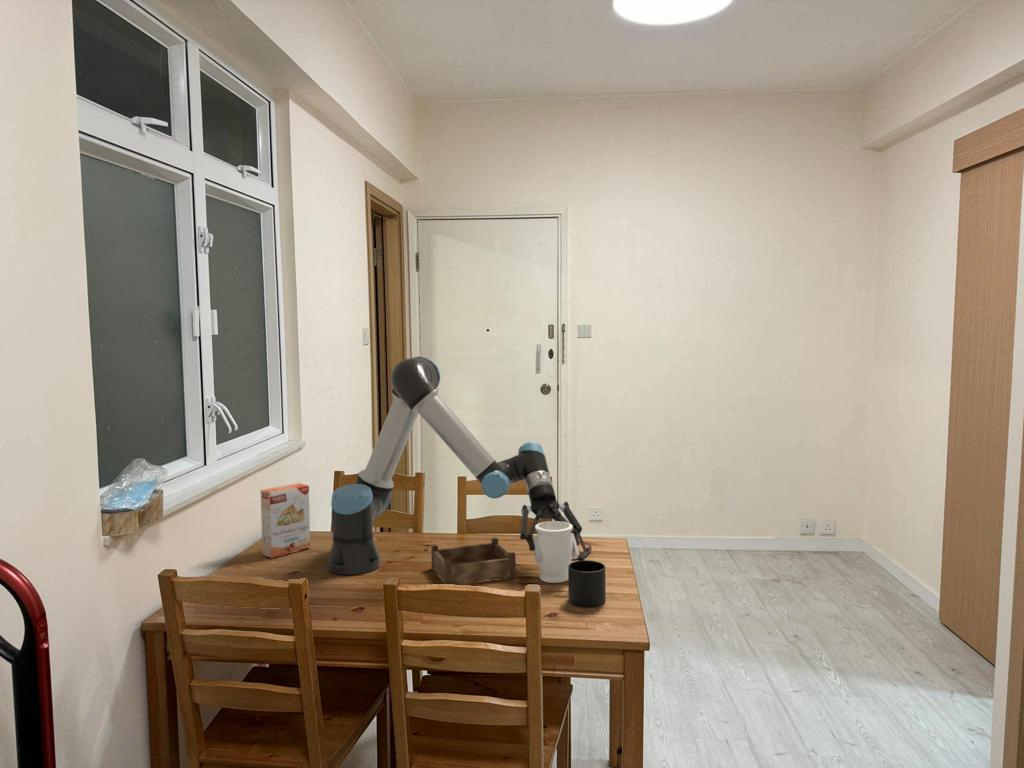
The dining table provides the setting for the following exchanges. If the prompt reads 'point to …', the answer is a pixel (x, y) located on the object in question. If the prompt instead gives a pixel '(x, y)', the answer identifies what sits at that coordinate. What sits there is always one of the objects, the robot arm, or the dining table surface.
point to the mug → (586, 583)
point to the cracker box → (285, 519)
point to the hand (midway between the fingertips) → (557, 558)
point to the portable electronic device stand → (586, 550)
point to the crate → (473, 563)
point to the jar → (554, 550)
